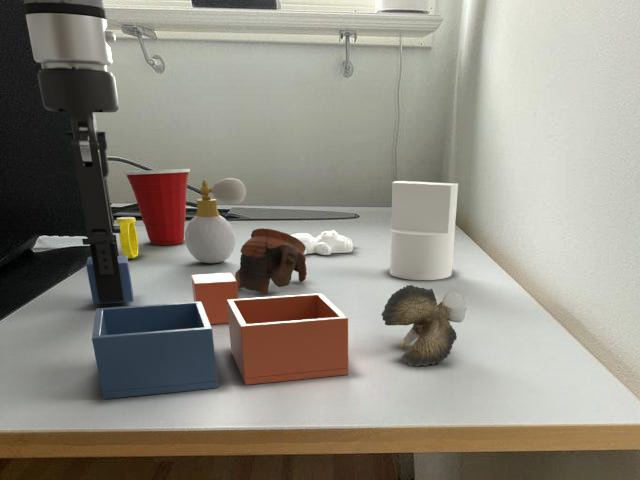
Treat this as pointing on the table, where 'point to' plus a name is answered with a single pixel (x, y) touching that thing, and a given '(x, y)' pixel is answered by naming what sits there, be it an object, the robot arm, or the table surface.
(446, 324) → the eagle figurine
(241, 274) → the brown wooden carving
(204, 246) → the perfume bottle
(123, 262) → the slate block
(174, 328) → the slate bin
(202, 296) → the terracotta block
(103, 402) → the table surface
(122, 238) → the watch
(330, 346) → the terracotta bin
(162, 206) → the plastic cup
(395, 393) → the table surface
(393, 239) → the cylinder with rectangular tab
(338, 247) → the astronaut figurine
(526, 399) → the table surface
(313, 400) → the table surface
